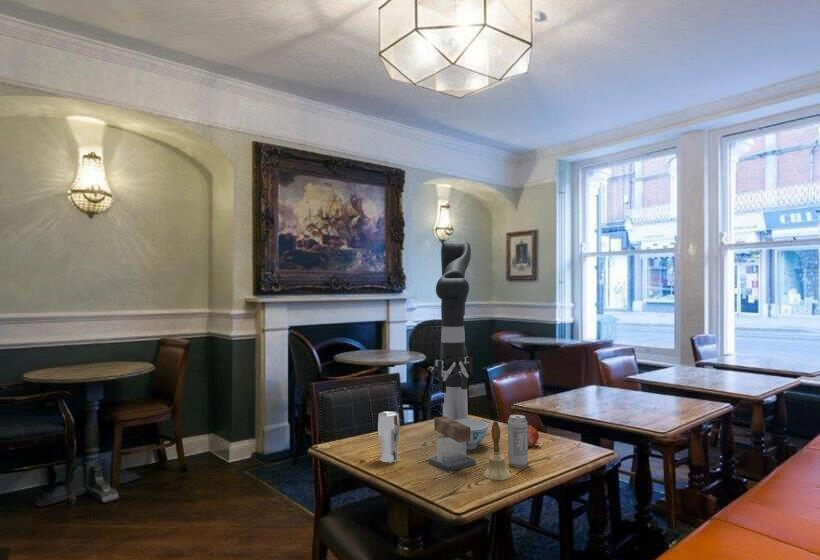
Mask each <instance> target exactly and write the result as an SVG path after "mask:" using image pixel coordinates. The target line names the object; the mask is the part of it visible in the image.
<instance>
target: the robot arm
mask: <svg viewBox="0 0 820 560" xmlns="http://www.w3.org/2000/svg"><path fill="white" fill-rule="evenodd" d="M440 249H441V250H440V257H441V258H440V261H441V276H440V278H439V279H438V280H437V282H436V286H435V295H436V296H437V297H438V298H439V299H440V301H441V303H440V304H441V305H440V312H441V313H440V314H441V316H440V317H441V319H440V320H441V322H440V323H441V332H440V333H441V334H440V335H441V336H440V346H439V348H440V349H439V350H440V351H439V359H434V360H433V379H434V380H437V381H438V383H439V386H438V387H439V389H438V390H439V392H440V393H442V394H443V400H444V401H443V403H442V417H444V416H445V417H448V418H450V419H452V420H459V419H468V416H469V415H468V386H469V385H468V384H469V383H468V382H469V379H468V378H469V377H470V376H473V374H474V373H473V370H474V369H473V358H472V356H468V348H467V346H466V337H465V335H466V332H465V318H464V317H465V315H466V303H467V299H468V295H469V291H470V284H469V282H468V281H467V279H466V278H465V275H466V271H467V269H468V268H469V266H470V265H469V264H470V261H471V257H472V255H471V254H472V249H471V245H470V243H469V242H468V241H465V240H444V241H443V242H442V243H441V247H440ZM452 373H453V374H452Z"/></svg>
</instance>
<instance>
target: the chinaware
mask: <svg viewBox="0 0 820 560" xmlns="http://www.w3.org/2000/svg"><path fill="white" fill-rule="evenodd" d="M454 421H457V422H459V423H461V424H463V425H466V426H468V427H470V441H466V450H473V449H477V446H478V444H480V443H481V442H482V441H483V440H484V439H485V437H486V435H487V433H488V429H489V423H487V422H485V421H483V420H479V419H459V420H454Z"/></svg>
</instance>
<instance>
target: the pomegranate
mask: <svg viewBox="0 0 820 560" xmlns="http://www.w3.org/2000/svg"><path fill="white" fill-rule="evenodd" d="M527 437H528V447H530V448H531V447H532V446H533V447H534V446H535V445H536V444H538V440H539V438H540V436H539V432H538V429H536V428H534V427H533V426H532V425H530V424H527Z"/></svg>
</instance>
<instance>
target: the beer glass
mask: <svg viewBox="0 0 820 560" xmlns="http://www.w3.org/2000/svg"><path fill="white" fill-rule="evenodd" d="M399 414H400V413H399V412H397V411H382V412H379V413H378V420H377V421H378V422H377V432H378V433H377V434H378V439H379V444H380V454H379V455H380V456H379V461H380V462H381V461H382V462H381V463H383V462H395V463H397V462H398V461H399V454H398V445H399V439H400V438H399V437H400V415H399ZM396 461H397V462H396Z"/></svg>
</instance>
